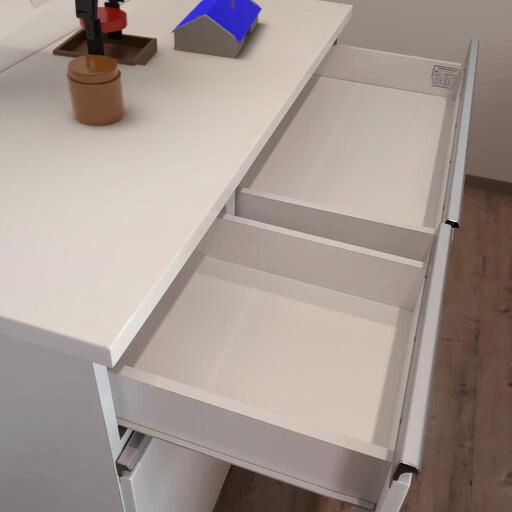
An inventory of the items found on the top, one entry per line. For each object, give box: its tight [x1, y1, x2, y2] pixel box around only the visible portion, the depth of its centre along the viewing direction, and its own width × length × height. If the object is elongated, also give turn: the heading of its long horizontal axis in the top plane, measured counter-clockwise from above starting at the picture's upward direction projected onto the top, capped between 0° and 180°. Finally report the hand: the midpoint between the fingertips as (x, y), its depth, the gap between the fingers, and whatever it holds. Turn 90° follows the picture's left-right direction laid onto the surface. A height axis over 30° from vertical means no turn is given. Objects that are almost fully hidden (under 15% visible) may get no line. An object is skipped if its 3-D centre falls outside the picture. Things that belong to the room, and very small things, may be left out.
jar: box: [66, 55, 126, 127], centre depth 80 cm, size 8×8×10 cm
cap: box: [78, 6, 129, 32], centre depth 99 cm, size 8×8×2 cm
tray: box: [51, 27, 158, 67], centre depth 102 cm, size 15×12×2 cm
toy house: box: [170, 0, 263, 59], centre depth 113 cm, size 22×14×7 cm, turn 168°
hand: (106, 46), depth 102 cm, fingers closed on cap, 8 cm apart
